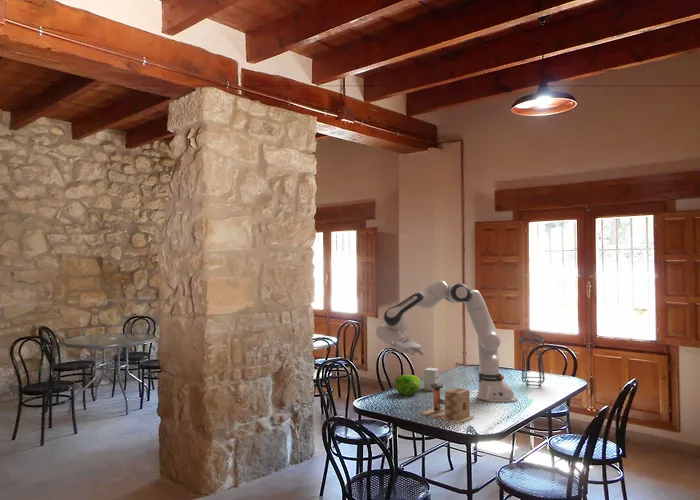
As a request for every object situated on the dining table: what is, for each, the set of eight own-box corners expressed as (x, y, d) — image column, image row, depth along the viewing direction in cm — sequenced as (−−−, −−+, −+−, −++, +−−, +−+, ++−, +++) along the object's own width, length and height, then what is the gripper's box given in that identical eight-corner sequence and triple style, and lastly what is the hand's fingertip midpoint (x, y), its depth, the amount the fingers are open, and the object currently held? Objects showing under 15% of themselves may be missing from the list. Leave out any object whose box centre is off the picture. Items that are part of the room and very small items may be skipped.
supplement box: (434, 391, 311) (434, 370, 311) (423, 389, 315) (423, 369, 315) (439, 388, 317) (439, 368, 318) (428, 387, 321) (428, 367, 322)
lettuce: (429, 392, 307) (429, 373, 307) (408, 399, 293) (408, 378, 293) (411, 389, 317) (411, 369, 317) (390, 394, 303) (390, 374, 303)
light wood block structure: (420, 414, 262) (420, 387, 262) (433, 409, 271) (433, 383, 271) (462, 424, 246) (461, 394, 246) (474, 418, 255) (474, 390, 255)
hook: (428, 410, 262) (428, 384, 262) (435, 408, 266) (434, 382, 267) (459, 417, 250) (459, 390, 250) (465, 414, 254) (465, 388, 255)
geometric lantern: (546, 390, 313) (544, 333, 314) (519, 389, 318) (517, 332, 319) (546, 384, 327) (544, 330, 328) (521, 383, 333) (518, 329, 334)
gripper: (391, 337, 277) (410, 348, 269) (410, 337, 293) (430, 348, 285) (386, 347, 278) (406, 359, 270) (406, 347, 294) (425, 358, 285)
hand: (418, 354), depth 277 cm, fingers open, 8 cm apart
